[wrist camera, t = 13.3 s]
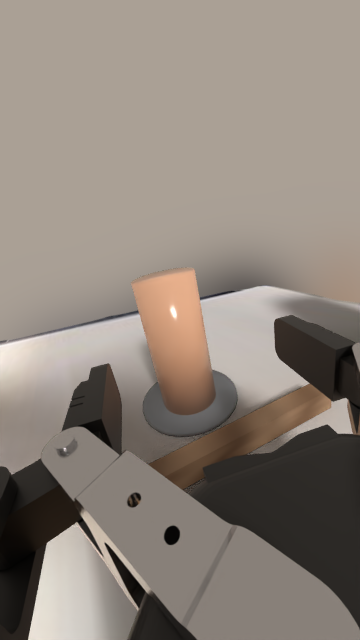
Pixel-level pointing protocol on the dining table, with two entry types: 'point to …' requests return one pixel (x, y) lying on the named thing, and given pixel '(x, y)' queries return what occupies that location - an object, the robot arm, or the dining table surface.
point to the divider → (241, 435)
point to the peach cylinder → (176, 338)
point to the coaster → (195, 422)
